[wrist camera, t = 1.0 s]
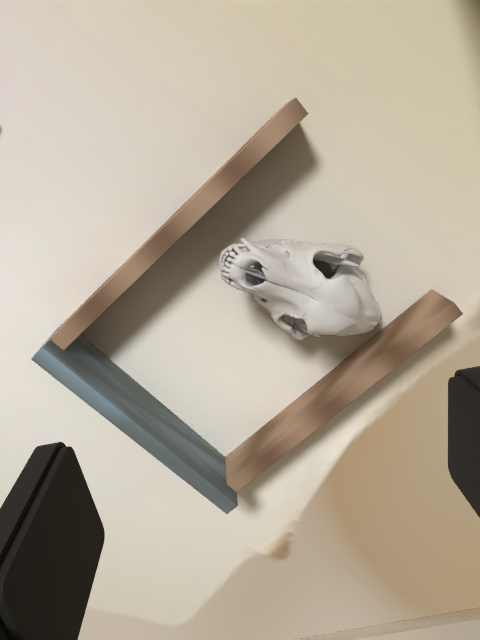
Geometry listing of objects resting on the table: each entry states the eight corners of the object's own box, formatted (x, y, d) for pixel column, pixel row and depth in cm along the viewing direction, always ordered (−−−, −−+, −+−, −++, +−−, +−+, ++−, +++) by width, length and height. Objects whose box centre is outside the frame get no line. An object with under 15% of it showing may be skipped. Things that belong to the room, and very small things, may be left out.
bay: (286, 103, 30) (300, 94, 26) (439, 299, 36) (474, 321, 32) (54, 331, 35) (31, 359, 30) (224, 472, 41) (226, 514, 36)
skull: (356, 366, 35) (269, 377, 26) (280, 302, 40) (182, 292, 30) (417, 282, 32) (344, 260, 23) (327, 224, 37) (236, 186, 27)
